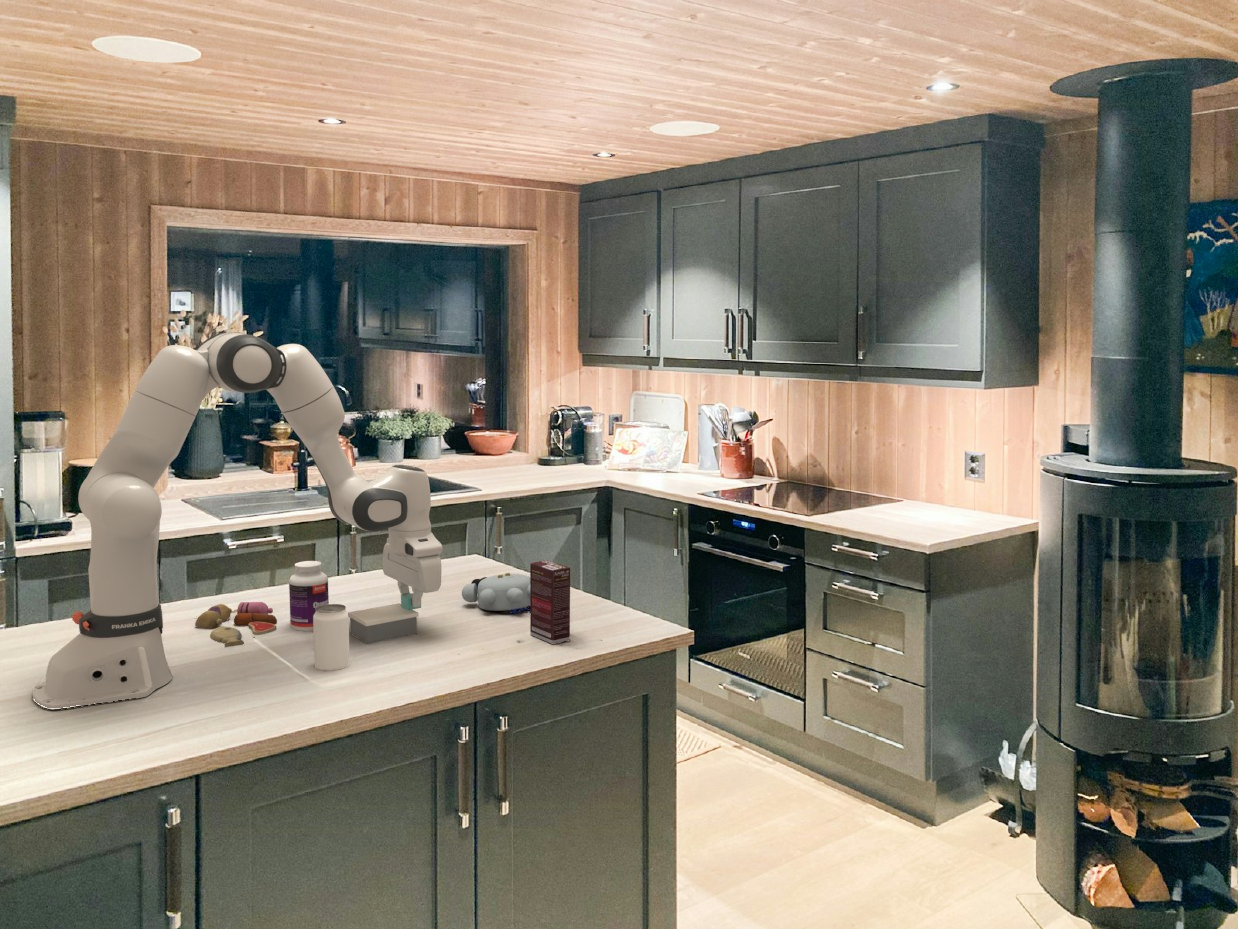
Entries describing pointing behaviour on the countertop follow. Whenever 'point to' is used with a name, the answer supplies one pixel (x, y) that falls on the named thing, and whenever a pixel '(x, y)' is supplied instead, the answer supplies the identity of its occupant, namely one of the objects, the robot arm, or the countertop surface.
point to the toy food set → (237, 621)
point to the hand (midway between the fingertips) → (411, 603)
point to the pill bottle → (307, 594)
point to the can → (331, 637)
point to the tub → (383, 630)
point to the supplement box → (550, 601)
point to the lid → (386, 612)
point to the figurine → (500, 592)
